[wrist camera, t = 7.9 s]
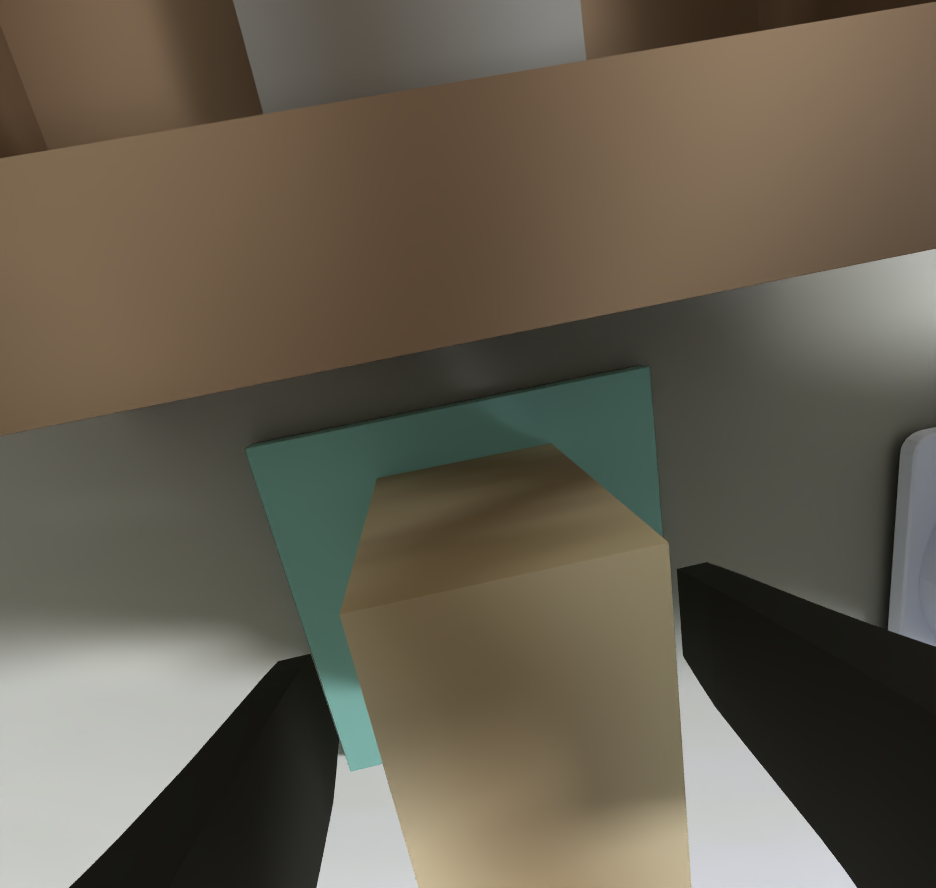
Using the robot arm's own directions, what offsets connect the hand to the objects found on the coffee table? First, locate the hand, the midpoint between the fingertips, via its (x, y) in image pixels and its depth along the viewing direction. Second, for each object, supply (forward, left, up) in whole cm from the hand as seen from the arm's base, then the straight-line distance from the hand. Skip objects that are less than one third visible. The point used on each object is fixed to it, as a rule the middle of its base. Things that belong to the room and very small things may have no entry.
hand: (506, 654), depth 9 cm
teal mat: (0, 0, -3) cm, 3 cm away
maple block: (0, 0, -2) cm, 2 cm away
